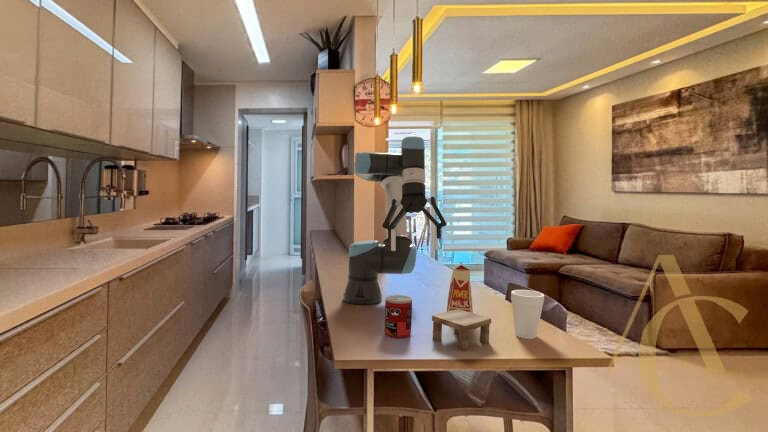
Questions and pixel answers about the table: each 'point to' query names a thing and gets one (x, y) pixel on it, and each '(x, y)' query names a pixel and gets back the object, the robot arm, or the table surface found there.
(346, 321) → the table surface
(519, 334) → the foam cup
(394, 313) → the canned food
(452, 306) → the milk carton
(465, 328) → the stool
